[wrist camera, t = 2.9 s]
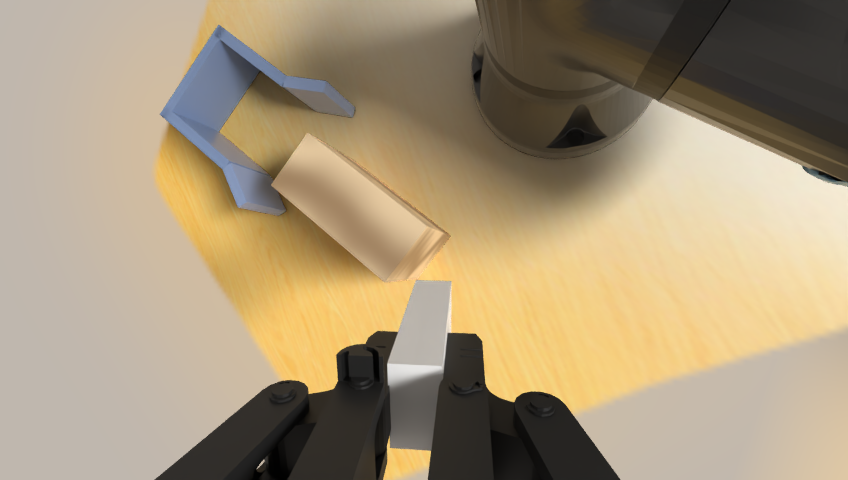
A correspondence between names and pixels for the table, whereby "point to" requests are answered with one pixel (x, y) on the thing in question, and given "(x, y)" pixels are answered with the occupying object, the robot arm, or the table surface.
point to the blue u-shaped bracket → (219, 95)
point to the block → (359, 211)
